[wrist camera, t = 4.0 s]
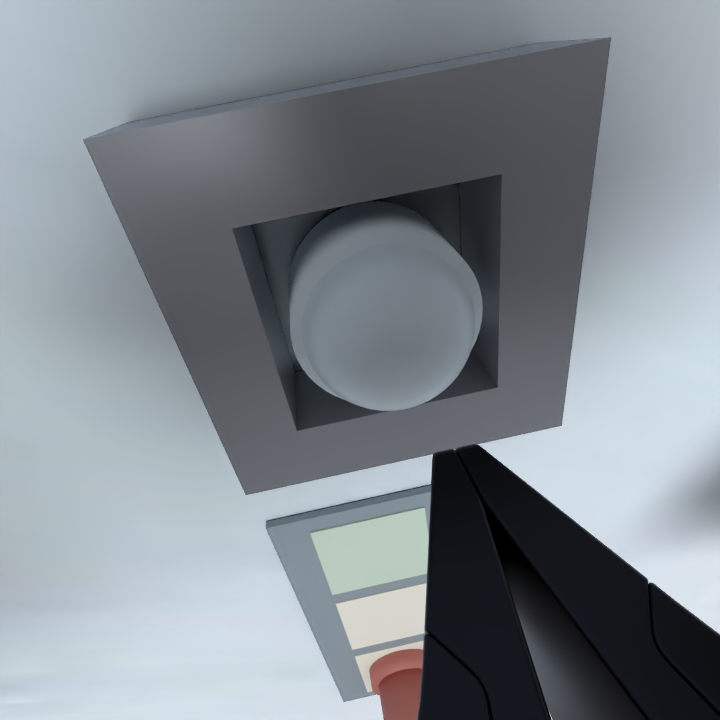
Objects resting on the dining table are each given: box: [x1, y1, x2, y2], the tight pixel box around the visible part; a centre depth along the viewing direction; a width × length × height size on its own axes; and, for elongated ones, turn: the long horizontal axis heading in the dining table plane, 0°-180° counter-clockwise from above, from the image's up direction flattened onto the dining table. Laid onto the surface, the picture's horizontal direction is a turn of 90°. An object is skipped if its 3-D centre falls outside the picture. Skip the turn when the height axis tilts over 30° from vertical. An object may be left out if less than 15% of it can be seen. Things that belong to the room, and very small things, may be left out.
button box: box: [83, 37, 611, 495], centre depth 15 cm, size 12×12×4 cm
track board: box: [266, 485, 431, 702], centre depth 29 cm, size 10×22×1 cm, turn 9°
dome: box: [289, 202, 483, 411], centre depth 13 cm, size 6×6×5 cm
